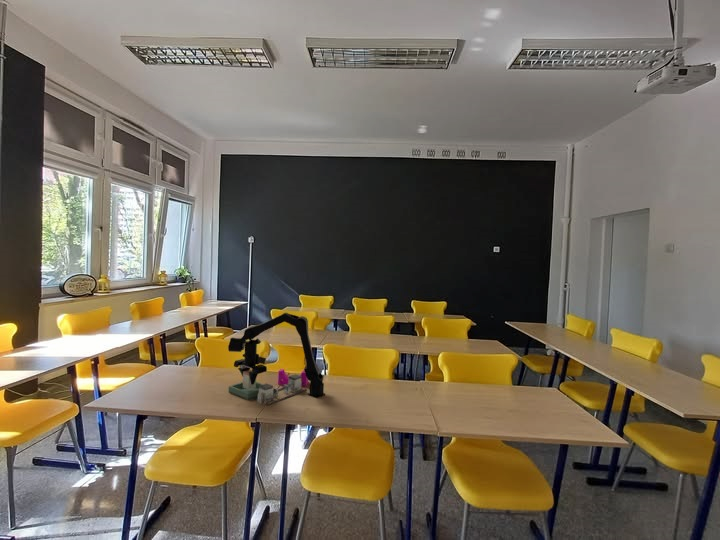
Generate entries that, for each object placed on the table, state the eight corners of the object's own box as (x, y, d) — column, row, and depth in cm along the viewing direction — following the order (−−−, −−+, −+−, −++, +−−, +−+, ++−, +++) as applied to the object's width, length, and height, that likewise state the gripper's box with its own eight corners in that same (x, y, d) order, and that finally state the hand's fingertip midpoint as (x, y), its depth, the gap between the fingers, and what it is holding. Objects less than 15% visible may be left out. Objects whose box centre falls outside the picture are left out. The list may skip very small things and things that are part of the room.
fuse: (256, 387, 180) (256, 371, 180) (248, 389, 176) (249, 373, 176) (250, 384, 182) (250, 369, 182) (242, 387, 179) (243, 371, 178)
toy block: (308, 382, 197) (308, 369, 197) (305, 386, 191) (306, 372, 191) (281, 381, 198) (281, 367, 198) (278, 385, 192) (278, 371, 192)
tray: (269, 392, 180) (269, 386, 180) (247, 400, 170) (248, 393, 170) (250, 385, 189) (250, 379, 189) (228, 392, 178) (228, 386, 178)
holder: (306, 390, 186) (307, 376, 185) (266, 405, 164) (267, 390, 164) (292, 385, 192) (292, 372, 192) (251, 399, 170) (252, 385, 170)
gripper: (275, 352, 180) (274, 383, 180) (251, 346, 191) (250, 375, 191) (257, 356, 171) (256, 389, 171) (233, 349, 182) (232, 380, 182)
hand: (249, 383), depth 179 cm, fingers closed on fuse, 4 cm apart
